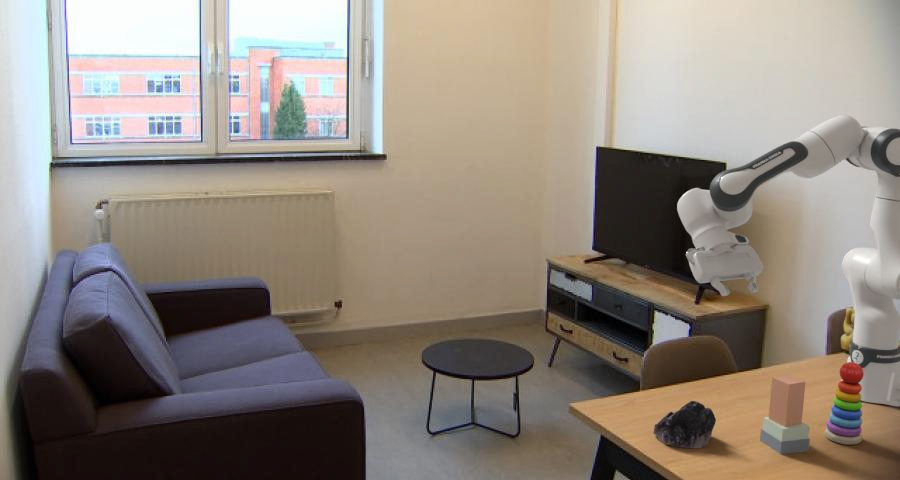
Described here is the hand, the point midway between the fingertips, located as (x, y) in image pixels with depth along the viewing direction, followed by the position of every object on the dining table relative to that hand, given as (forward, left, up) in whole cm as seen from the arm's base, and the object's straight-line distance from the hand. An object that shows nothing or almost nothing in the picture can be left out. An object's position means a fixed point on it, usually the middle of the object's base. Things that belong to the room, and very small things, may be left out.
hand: (741, 292), depth 213 cm
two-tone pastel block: (+1, +19, -32) cm, 37 cm away
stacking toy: (-15, +21, -32) cm, 41 cm away
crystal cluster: (+20, +8, -32) cm, 39 cm away
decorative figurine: (-70, -27, -32) cm, 81 cm away
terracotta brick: (+1, +19, -26) cm, 32 cm away
